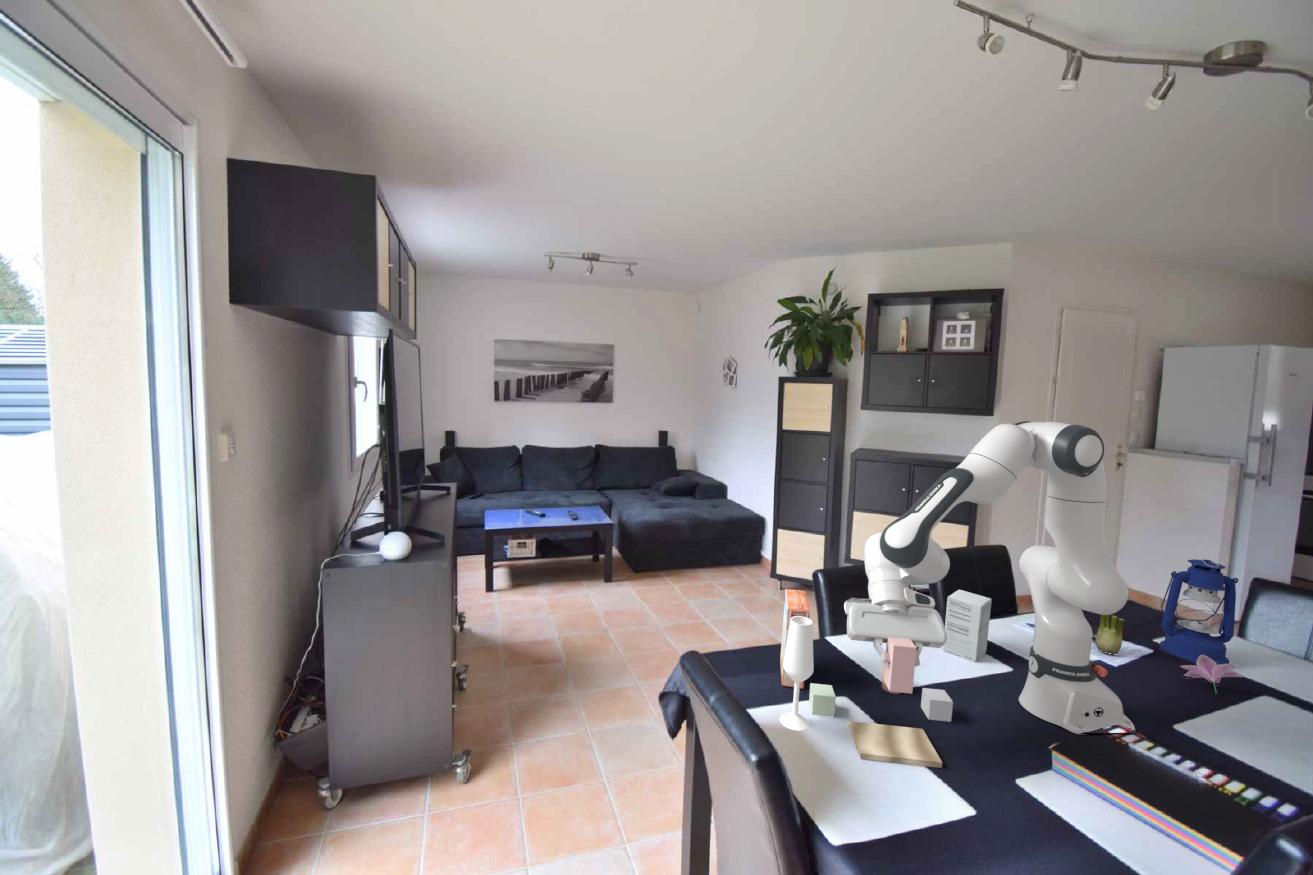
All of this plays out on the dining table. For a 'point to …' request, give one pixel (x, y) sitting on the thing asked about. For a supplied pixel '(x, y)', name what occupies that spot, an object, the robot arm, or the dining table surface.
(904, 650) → the rose block
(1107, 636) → the fennel bulb
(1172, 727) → the dining table surface
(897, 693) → the terracotta cylinder
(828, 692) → the sage painted block
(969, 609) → the supplement box
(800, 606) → the cracker box
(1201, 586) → the lantern
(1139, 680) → the dining table surface
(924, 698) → the grey plastic block
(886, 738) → the pine board
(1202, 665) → the lily
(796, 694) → the champagne flute
